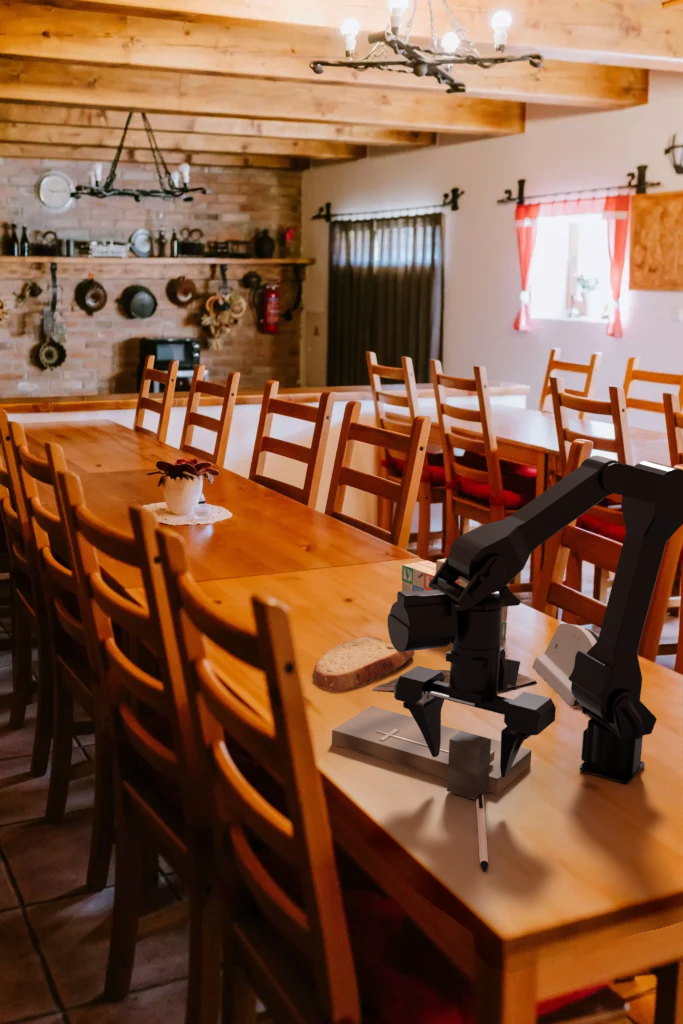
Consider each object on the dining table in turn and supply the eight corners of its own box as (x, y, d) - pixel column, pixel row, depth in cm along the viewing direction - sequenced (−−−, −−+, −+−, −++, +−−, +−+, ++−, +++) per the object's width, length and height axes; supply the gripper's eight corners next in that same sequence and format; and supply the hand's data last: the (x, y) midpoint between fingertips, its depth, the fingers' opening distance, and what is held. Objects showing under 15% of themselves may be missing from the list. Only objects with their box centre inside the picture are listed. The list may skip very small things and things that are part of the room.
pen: (482, 792, 132) (483, 784, 131) (488, 877, 113) (489, 867, 113) (475, 792, 132) (475, 783, 131) (480, 876, 113) (481, 866, 113)
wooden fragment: (525, 671, 173) (525, 664, 172) (546, 697, 162) (547, 690, 162) (365, 675, 169) (365, 669, 169) (377, 703, 159) (377, 696, 158)
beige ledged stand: (531, 666, 174) (555, 609, 173) (556, 674, 175) (580, 618, 174) (570, 706, 158) (597, 644, 157) (598, 715, 159) (625, 653, 158)
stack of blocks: (399, 612, 200) (402, 548, 198) (425, 607, 204) (427, 544, 202) (481, 645, 184) (484, 575, 181) (507, 638, 188) (511, 570, 185)
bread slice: (319, 693, 161) (320, 670, 161) (300, 652, 179) (300, 631, 178) (435, 687, 165) (436, 664, 164) (405, 648, 182) (406, 627, 181)
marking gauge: (501, 778, 134) (505, 728, 132) (476, 800, 128) (479, 747, 127) (472, 770, 136) (475, 720, 135) (447, 790, 130) (449, 739, 129)
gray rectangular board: (530, 764, 139) (531, 749, 138) (496, 794, 131) (497, 777, 130) (371, 719, 152) (372, 705, 151) (331, 743, 143) (332, 728, 143)
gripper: (577, 640, 128) (568, 762, 131) (438, 610, 138) (433, 725, 141) (540, 666, 119) (531, 797, 122) (394, 633, 129) (389, 754, 132)
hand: (469, 765), depth 130 cm, fingers open, 9 cm apart
